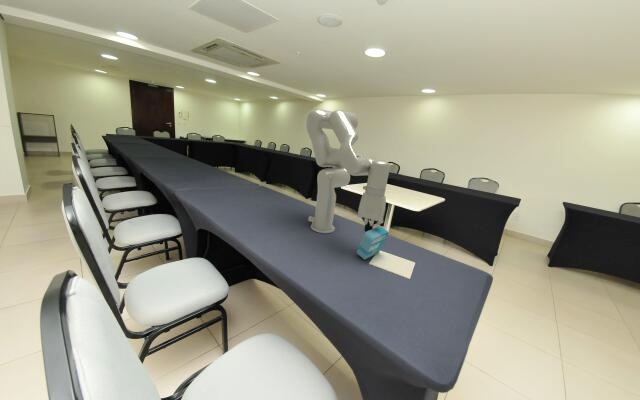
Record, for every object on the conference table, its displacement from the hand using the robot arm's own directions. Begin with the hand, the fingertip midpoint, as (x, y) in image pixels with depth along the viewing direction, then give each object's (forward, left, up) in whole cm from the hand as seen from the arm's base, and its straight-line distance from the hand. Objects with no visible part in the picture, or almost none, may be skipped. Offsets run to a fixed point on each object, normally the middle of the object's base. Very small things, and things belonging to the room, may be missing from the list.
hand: (367, 232), depth 101 cm
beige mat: (+13, 0, -10) cm, 16 cm away
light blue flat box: (+2, 0, -9) cm, 9 cm away
